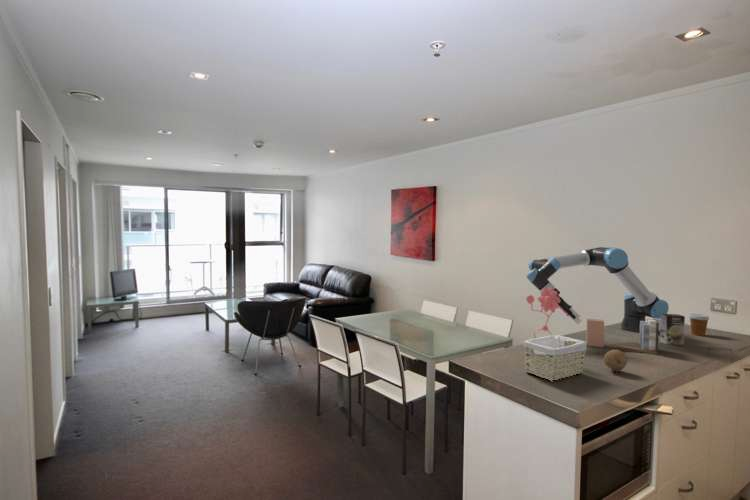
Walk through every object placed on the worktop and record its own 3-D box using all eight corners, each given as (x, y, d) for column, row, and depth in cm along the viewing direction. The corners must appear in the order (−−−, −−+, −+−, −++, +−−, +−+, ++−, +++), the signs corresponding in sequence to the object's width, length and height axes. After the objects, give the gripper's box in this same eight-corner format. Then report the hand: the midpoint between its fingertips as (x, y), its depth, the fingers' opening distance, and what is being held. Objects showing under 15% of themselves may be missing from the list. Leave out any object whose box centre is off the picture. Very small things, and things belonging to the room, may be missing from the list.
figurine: (560, 366, 189) (562, 291, 188) (518, 352, 212) (519, 285, 211) (582, 362, 196) (584, 289, 194) (539, 348, 219) (540, 283, 218)
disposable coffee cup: (685, 333, 250) (685, 314, 249) (694, 332, 254) (694, 313, 253) (702, 337, 241) (703, 317, 241) (711, 335, 245) (712, 316, 245)
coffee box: (666, 344, 226) (667, 316, 225) (659, 341, 233) (660, 313, 232) (684, 345, 225) (685, 316, 225) (676, 342, 232) (677, 313, 231)
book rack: (614, 344, 227) (614, 314, 226) (652, 347, 220) (653, 317, 219) (617, 350, 216) (618, 319, 215) (657, 354, 209) (658, 322, 208)
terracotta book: (586, 343, 229) (586, 318, 229) (602, 344, 226) (603, 319, 225) (587, 345, 225) (587, 320, 224) (603, 347, 222) (604, 321, 221)
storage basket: (555, 364, 193) (556, 333, 193) (588, 374, 179) (588, 341, 179) (521, 373, 181) (521, 340, 181) (553, 384, 167) (554, 349, 167)
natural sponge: (621, 376, 176) (621, 354, 176) (599, 371, 183) (600, 349, 183) (630, 372, 182) (630, 350, 181) (609, 367, 189) (609, 345, 188)
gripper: (545, 293, 245) (572, 320, 240) (544, 299, 222) (574, 329, 217) (555, 284, 243) (582, 311, 238) (555, 290, 220) (586, 320, 215)
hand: (579, 320), depth 227 cm, fingers open, 13 cm apart
